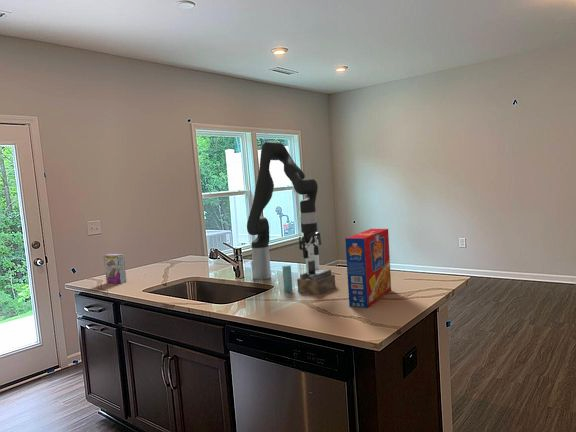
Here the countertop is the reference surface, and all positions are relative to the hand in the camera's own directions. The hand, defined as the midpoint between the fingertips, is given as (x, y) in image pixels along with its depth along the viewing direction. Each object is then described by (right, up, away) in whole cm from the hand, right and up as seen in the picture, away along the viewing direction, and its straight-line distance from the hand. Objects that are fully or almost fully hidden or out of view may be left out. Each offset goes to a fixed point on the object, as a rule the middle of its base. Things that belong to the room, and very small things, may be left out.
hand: (311, 256), depth 206 cm
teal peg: (-11, -17, +4) cm, 20 cm away
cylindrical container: (+3, -14, +32) cm, 34 cm away
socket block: (+3, -16, +4) cm, 16 cm away
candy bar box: (-110, -20, +49) cm, 122 cm away
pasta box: (+25, -16, -17) cm, 34 cm away
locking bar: (+3, -10, +4) cm, 11 cm away
